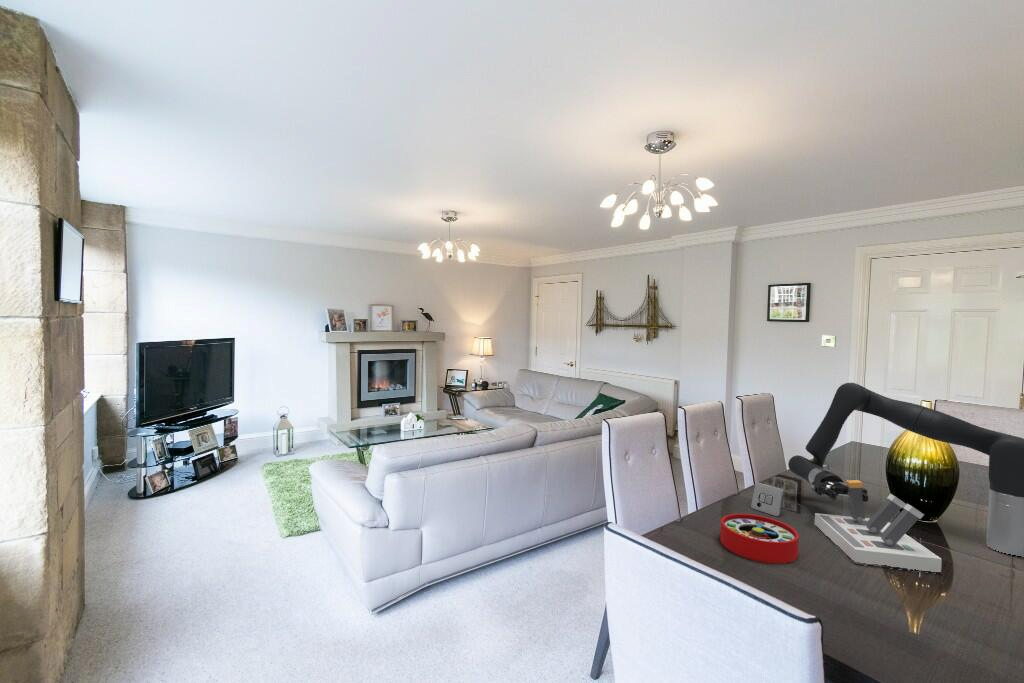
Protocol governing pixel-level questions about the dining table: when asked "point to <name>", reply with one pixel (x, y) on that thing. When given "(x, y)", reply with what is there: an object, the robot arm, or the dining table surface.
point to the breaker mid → (884, 514)
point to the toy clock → (759, 538)
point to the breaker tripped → (856, 499)
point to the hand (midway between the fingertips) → (850, 497)
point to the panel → (875, 544)
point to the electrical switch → (767, 499)
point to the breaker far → (901, 525)
